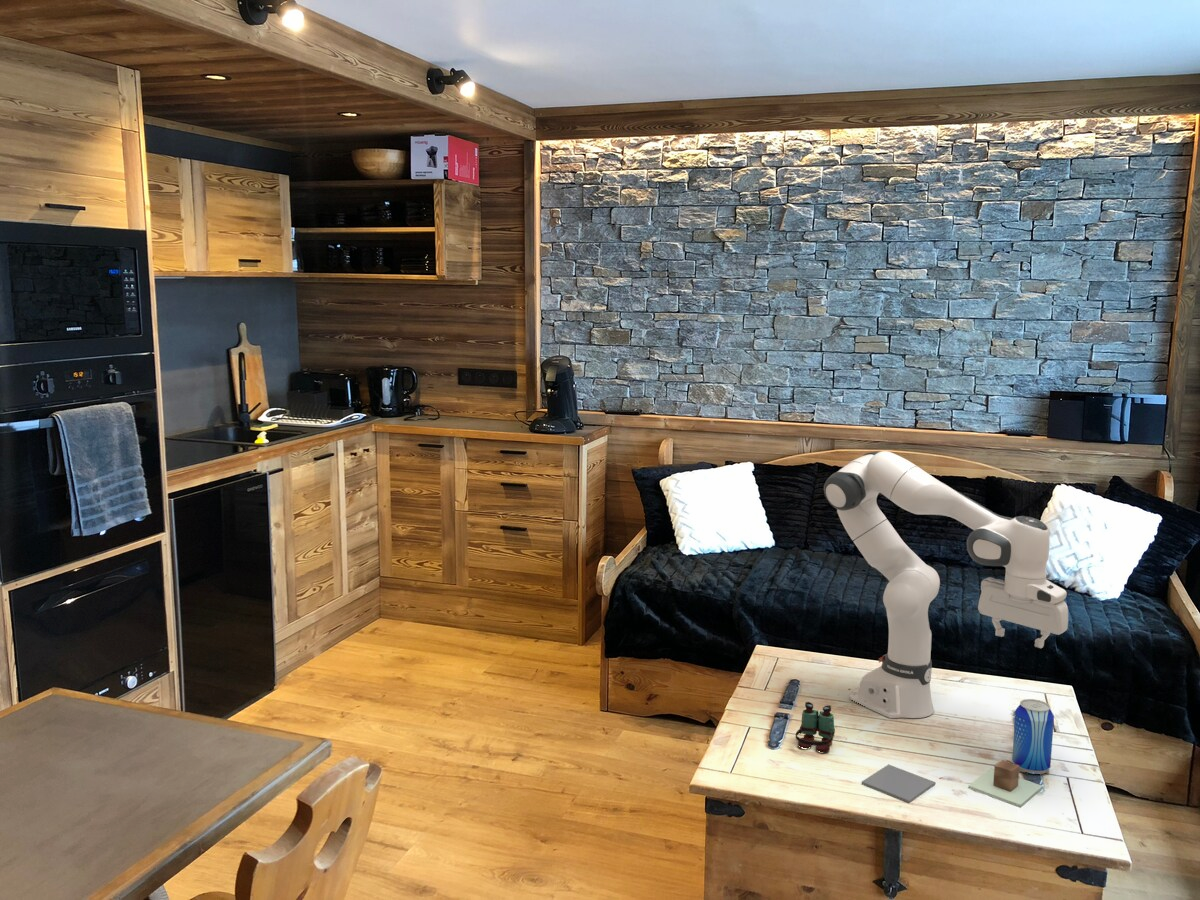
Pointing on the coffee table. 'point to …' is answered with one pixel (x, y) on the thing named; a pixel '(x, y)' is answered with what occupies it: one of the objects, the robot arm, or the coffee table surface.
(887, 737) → the coffee table surface
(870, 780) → the slate tile
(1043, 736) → the beer can
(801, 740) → the binoculars
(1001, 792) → the sage tile
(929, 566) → the robot arm
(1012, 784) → the walnut block
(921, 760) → the coffee table surface
